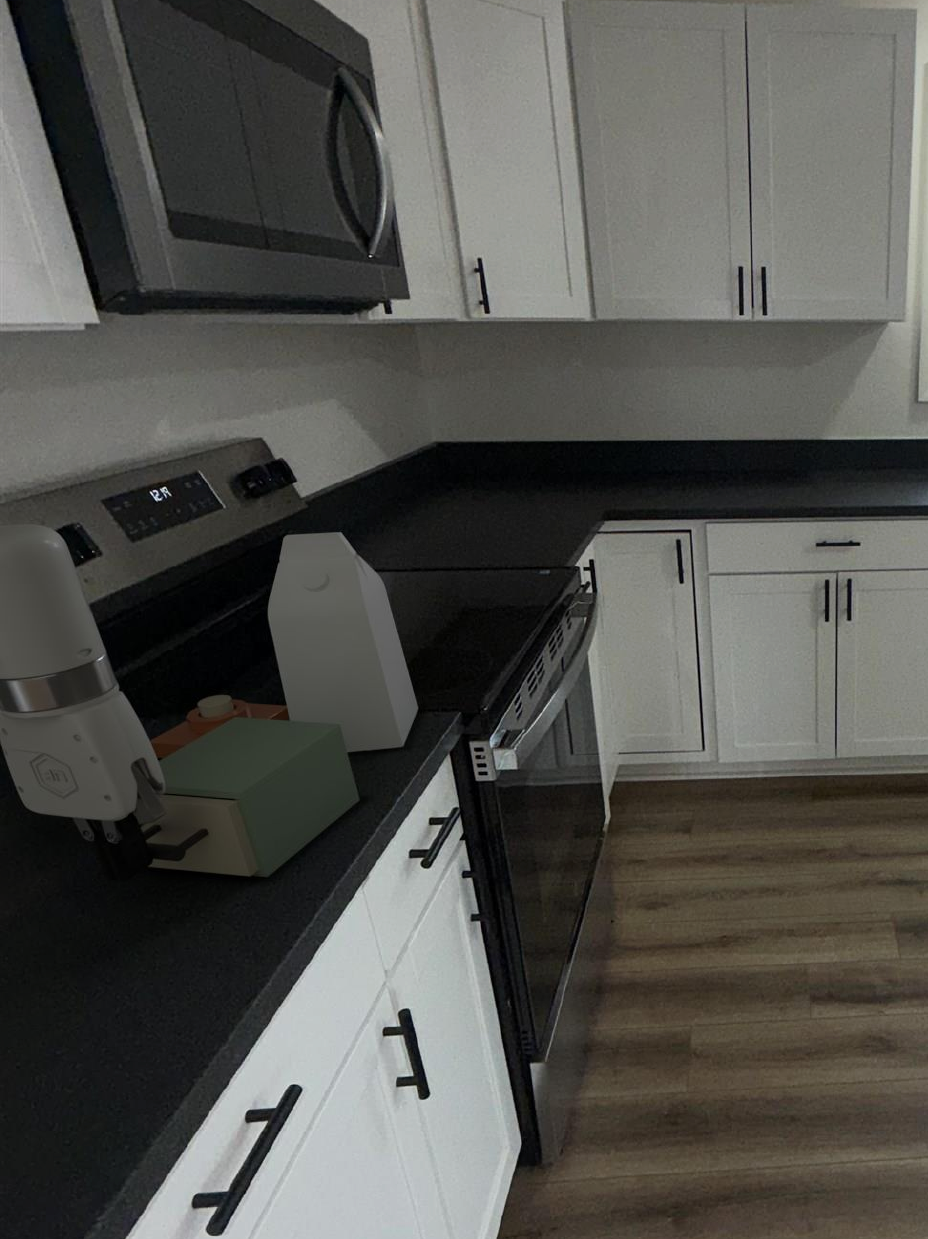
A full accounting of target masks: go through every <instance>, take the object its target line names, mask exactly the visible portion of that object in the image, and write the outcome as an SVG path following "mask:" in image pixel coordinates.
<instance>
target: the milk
mask: <svg viewBox="0 0 928 1239" xmlns="http://www.w3.org/2000/svg"><path fill="white" fill-rule="evenodd" d="M281 545H282V546H281V548H280V549H281V550H280V554H279V562H278V563H277V568H276V572H275V576H274V580H273V583H272V588H271V590H270V596H269V600H268V605H267V620H268V625H269V629H270V635H271V638H272V642H273V647H274V653H275V657H276V662H277V666H278V672H279V676H280V680H281V685H282V689H283V694H284V698H285V703H286V706H287V708H288V713H289V718H290V721H299V722H314V723H328V724H340V727H341V731H342V735H343V738H344V742H345V746H346V750H347V753H353V752H364V751H375V750H384V749H394V748H395V749H396V748H403V747H404V746H405V743H406V740H407V738H408V735H409V733H410V731H411V728H412V726H413V723H414V721H415V718H416V716H417V714H418V710H419V705H418V703H417V698H416V694H415V692H414V688H413V684H412V680H411V677H410V673H409V669H408V666H407V662H406V659H405V655H404V652H403V648H402V644H401V640H400V637H399V633H398V629H397V626H396V623H395V618H394V614H393V611H392V606H391V604H390V600H389V597H388V593H387V589H386V587H385V583H384V581H383V579H382V578H381V576H380V575H379V574H378V572H376V571H375V569H374V570H373V569H372V568H371V567H370V566H369V565H368V564H367V563H366V562H365V561H366V560H364V559H363V558H362V557H361V556H360V555H359V554H357V552H356V551H355V549H354V547H353V546H352V545H351V543H350V542H349V540H347V538H346V537H345V535H344V534H343V533H342V531H339V532H338V531H337V532H320V533H319V532H317V533H297V534H286V535H285V536H284V537H283V539H282V544H281Z"/></svg>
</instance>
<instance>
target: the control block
mask: <svg viewBox="0 0 928 1239" xmlns="http://www.w3.org/2000/svg"><path fill="white" fill-rule="evenodd" d="M232 702H233V705H234V708H235V710H234V711H232V712H230V713H228V714H225V715H222V716H218V717H211V718H202V717H201V714H200V711H199V708H198V706H197V707H195V708H193V709H192V710H190V711H188V713H187V715H186V717H185V719H186V720H185V721H184V722H182V723H180V724H179V725H176V726H174V727H173V728H171V729H169V730H167V731H166V732H163V733H162V734H160V735H158V736H156V737H154V738H152V739H150V740H149V741H150V743H151V745H152V747H153V750H154V752H155V754H156V757H157V759H163V758H165V757H167V756H169V755H170V754H172V753H174V752H176V751H177V750H179V749H181V748H182V747H184V746H186V745H188V744H189V743H191V742H193V741H195V740H196V739H198V738H200V737H201V736H203V735H205V734H207V733H208V732H210V731H212V730H214V729H215V728H217V727H219V726H221V725H222V724H224V723H226V722H227V721H229V720H231V719H233V718H234V717H242V718H256V719H270V720H285V721H290V718H289V713H288V708H287V705H281V704H280V705H279V704H268V703H267V704H266V703H265V704H264V703H251V702H246V701H244V700H242V699H232Z"/></svg>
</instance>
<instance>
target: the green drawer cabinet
mask: <svg viewBox="0 0 928 1239" xmlns="http://www.w3.org/2000/svg"><path fill="white" fill-rule="evenodd" d="M158 762H159V765H160V768H161V770H162V774H163V777H164V781H165V793H168V794H180V795H192V796H204V797H216V798H228V799H235V801H237V804H238V807H239V810H240V813H241V816H242V819H243V822H244V825H245V828H246V831H247V834H248V837H249V840H250V843H251V846H252V849H253V852H254V855H255V858H256V861H257V865H258V868H259V870H258V871H256V872H255V873H254V874H253V875H251V876H250V877H260V878H261V877H262V878H268V877H270V876H271V875H272V874H273V873H274V872H276V871H277V870H278V869H279V868H280V867H282V865H284V864H285V863H286V862H287V861H289V860H290V859H291V858H292V857H293V856H295V855H296V854H297V853H299V851H301V850H302V849H303V848H304V847H306V846H307V845H308V844H309V843H311V842H312V841H313V840H314V839H315V838H316V837H317V836H319V835H320V834H321V833H322V832H324V831H326V829H327V828H328V827H329V826H331V825H332V824H333V823H334V822H335V821H337V820H338V819H340V817H342V816H343V815H344V814H345V813H346V812H348V811H349V810H350V809H351V808H352V807H353V806H355V805H356V804H357V803H358V802H360V796H359V793H358V789H357V785H356V782H355V777H354V773H353V769H352V766H351V761H350V757H349V754H348V752H347V750H346V746H345V742H344V738H343V735H342V731H341V727H340V724H328V723H314V722H299V721H285V720H270V719H256V718H242V717H234V718H233V719H231V720H229V721H227V722H226V723H224V724H222V725H221V726H219V727H217V728H215V729H214V730H212V731H210V732H208V733H207V734H205V735H203V736H201V737H200V738H198V739H196V740H195V741H193V742H191V743H189V744H188V745H186V746H184V747H182V748H181V749H179V750H177V751H176V752H174V753H172V754H170V755H169V756H167V757H165V758H161V759H160V760H158Z"/></svg>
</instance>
